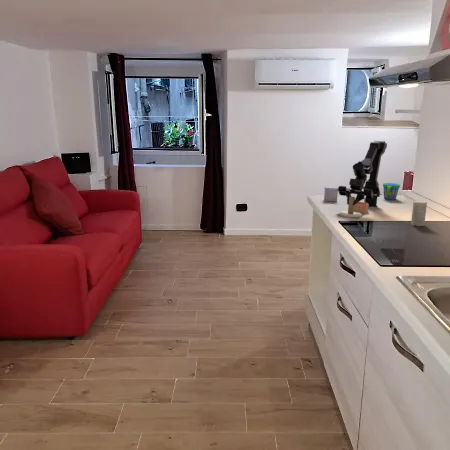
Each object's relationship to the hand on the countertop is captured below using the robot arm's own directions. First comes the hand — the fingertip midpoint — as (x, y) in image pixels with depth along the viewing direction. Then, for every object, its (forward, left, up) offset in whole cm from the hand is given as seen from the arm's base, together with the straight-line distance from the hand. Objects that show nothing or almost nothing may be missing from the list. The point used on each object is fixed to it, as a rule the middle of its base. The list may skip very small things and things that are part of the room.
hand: (350, 204), depth 238 cm
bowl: (-8, -12, -7) cm, 16 cm away
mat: (-1, -1, -7) cm, 7 cm away
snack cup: (-41, -53, -7) cm, 67 cm away
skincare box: (-31, +15, -7) cm, 35 cm away
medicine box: (+1, -42, -7) cm, 42 cm away
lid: (-1, -1, -6) cm, 6 cm away
